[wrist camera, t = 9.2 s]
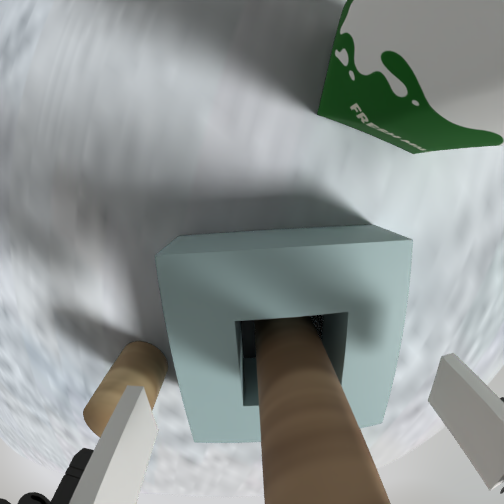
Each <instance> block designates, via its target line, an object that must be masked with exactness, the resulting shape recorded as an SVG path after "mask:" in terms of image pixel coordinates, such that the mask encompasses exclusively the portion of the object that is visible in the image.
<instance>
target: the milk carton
mask: <svg viewBox="0 0 504 504" xmlns="http://www.w3.org/2000/svg"><path fill="white" fill-rule="evenodd" d="M317 115H320V116H323V117H325V118H328V119H331V120H334V121H337V122H339V123H342V124H345V125H347V126H350V127H353V128H355V129H358V130H360V131H363V132H365V133H368V134H370V135H372V136H375V137H377V138H379V139H382V140H384V141H386V142H389V143H391V144H393V145H395V146H397V147H400V148H402V149H404V150H406V151H408V152H410V153H412V154H416V153H423V152H430V151H438V150H448V149H458V148H469V147H482V146H498V145H504V0H347V2H346V4H345V6H344V8H343V11H342V14H341V18H340V21H339V25H338V28H337V32H336V36H335V40H334V44H333V48H332V52H331V56H330V61H329V65H328V70H327V75H326V79H325V83H324V88H323V92H322V96H321V100H320V104H319V108H318V112H317Z"/></svg>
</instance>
